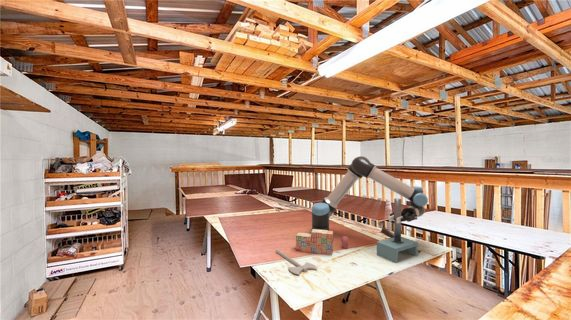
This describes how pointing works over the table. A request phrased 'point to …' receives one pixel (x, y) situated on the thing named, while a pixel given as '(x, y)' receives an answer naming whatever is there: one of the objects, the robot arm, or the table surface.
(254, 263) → the table surface
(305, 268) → the axe
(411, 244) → the bridge
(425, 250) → the table surface
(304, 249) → the stack of blocks
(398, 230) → the long pin
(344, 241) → the short pin
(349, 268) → the table surface
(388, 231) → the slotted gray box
